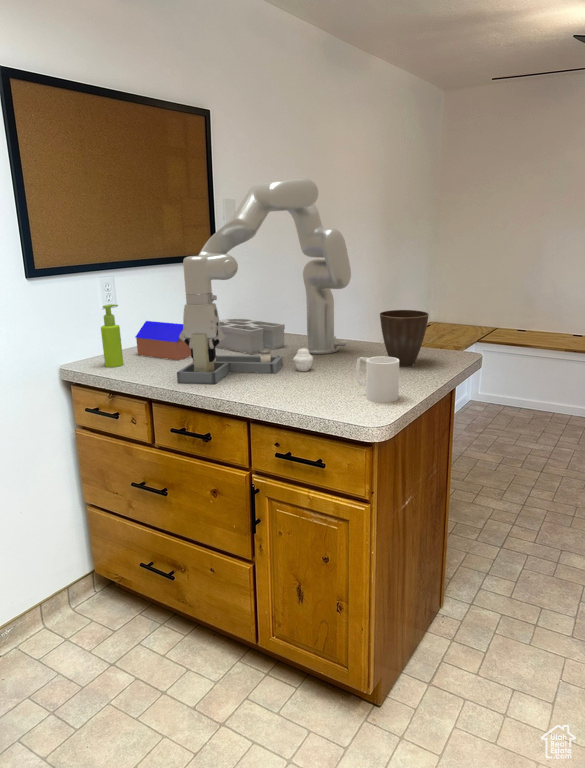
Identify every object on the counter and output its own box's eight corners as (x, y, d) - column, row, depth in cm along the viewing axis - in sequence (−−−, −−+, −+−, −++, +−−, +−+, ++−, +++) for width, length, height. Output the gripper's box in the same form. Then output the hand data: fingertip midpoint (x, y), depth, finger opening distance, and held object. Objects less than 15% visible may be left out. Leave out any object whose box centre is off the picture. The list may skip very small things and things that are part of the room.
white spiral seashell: (309, 373, 178) (309, 350, 177) (290, 371, 180) (290, 349, 179) (316, 368, 184) (315, 346, 182) (297, 367, 186) (297, 345, 184)
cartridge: (272, 367, 186) (271, 349, 184) (269, 370, 183) (269, 351, 181) (262, 367, 187) (261, 349, 185) (259, 370, 183) (258, 351, 182)
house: (160, 349, 220) (158, 318, 216) (201, 354, 209) (199, 321, 206) (136, 355, 210) (133, 323, 207) (178, 361, 199) (175, 327, 196)
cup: (363, 389, 160) (363, 353, 157) (404, 396, 153) (404, 358, 150) (347, 397, 153) (347, 359, 151) (389, 404, 146) (389, 365, 144)
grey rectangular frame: (282, 365, 189) (282, 356, 188) (275, 373, 179) (275, 363, 178) (204, 363, 194) (203, 354, 193) (193, 371, 184) (192, 362, 184)
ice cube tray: (252, 355, 205) (250, 331, 203) (202, 345, 224) (201, 323, 222) (285, 347, 216) (285, 324, 214) (236, 338, 235) (235, 317, 233)
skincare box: (208, 375, 173) (205, 334, 170) (193, 375, 174) (191, 334, 171) (215, 370, 179) (212, 331, 176) (201, 370, 180) (198, 330, 177)
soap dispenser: (129, 363, 198) (123, 303, 193) (115, 367, 192) (108, 306, 187) (115, 361, 200) (109, 303, 195) (101, 366, 194) (94, 306, 189)
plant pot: (435, 362, 187) (437, 312, 183) (411, 371, 176) (412, 318, 172) (395, 356, 197) (396, 308, 192) (369, 364, 186) (370, 314, 182)
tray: (229, 372, 182) (229, 362, 181) (215, 384, 169) (214, 373, 168) (194, 371, 184) (193, 361, 183) (177, 383, 171) (176, 372, 170)
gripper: (231, 297, 172) (234, 358, 177) (177, 297, 176) (182, 357, 181) (223, 301, 165) (227, 364, 170) (166, 301, 169) (172, 363, 174)
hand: (203, 360), depth 175 cm, fingers closed on skincare box, 4 cm apart
